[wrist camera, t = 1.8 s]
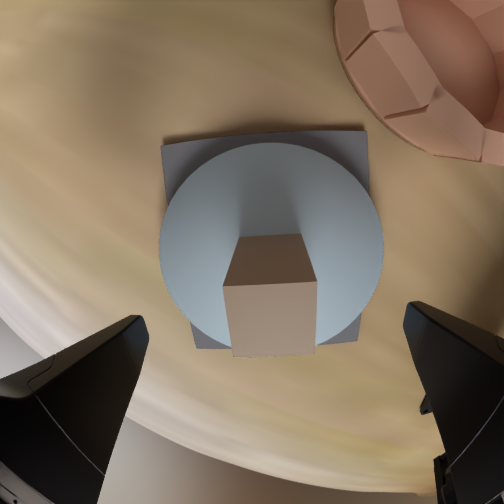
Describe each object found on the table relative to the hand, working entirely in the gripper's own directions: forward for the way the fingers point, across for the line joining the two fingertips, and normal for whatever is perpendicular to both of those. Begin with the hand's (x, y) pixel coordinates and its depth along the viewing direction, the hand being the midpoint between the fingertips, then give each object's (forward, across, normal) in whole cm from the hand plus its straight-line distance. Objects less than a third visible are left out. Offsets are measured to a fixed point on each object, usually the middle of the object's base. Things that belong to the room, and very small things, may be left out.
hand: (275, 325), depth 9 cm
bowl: (+6, -10, -11) cm, 16 cm away
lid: (+6, 0, 0) cm, 6 cm away
